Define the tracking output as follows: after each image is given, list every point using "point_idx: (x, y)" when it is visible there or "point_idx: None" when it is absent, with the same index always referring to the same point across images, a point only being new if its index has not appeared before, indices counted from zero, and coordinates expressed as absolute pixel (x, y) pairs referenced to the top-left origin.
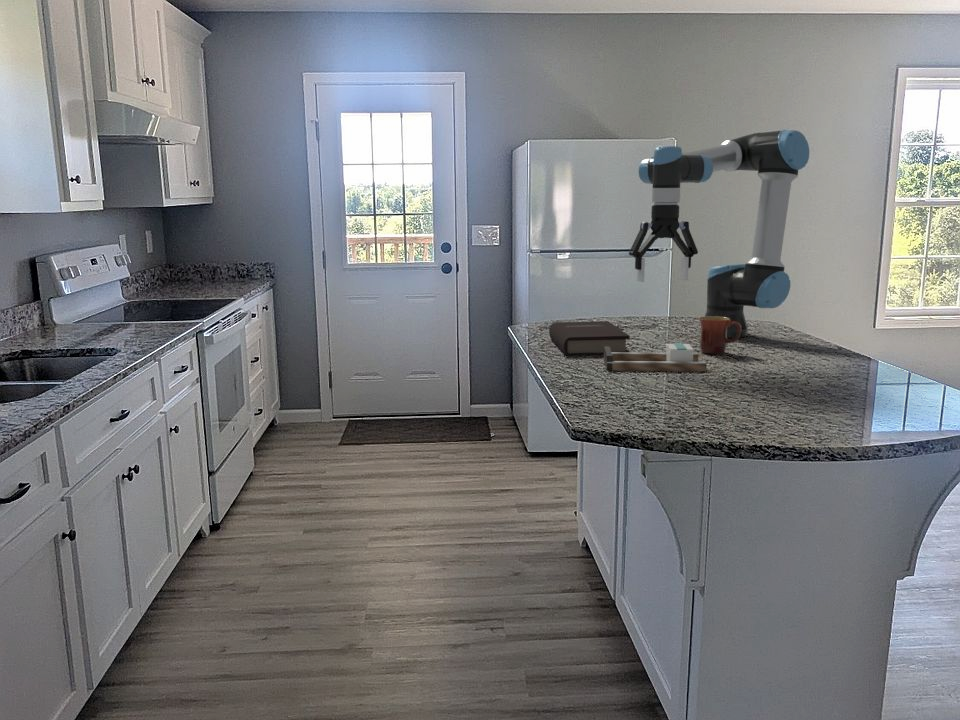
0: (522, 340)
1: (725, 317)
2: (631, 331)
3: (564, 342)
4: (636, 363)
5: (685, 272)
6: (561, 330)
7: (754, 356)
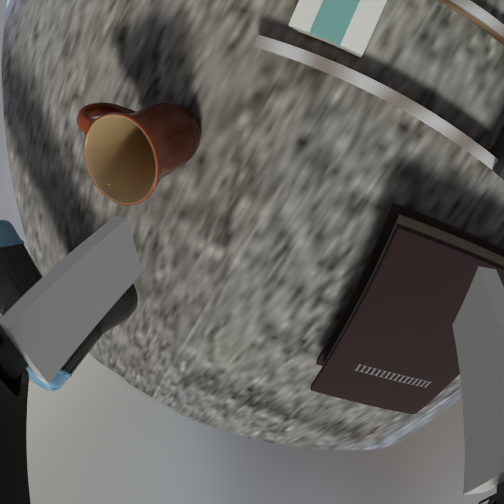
0: None
1: (88, 168)
2: (242, 374)
3: None
4: (492, 17)
5: (93, 249)
6: None
7: (112, 71)
